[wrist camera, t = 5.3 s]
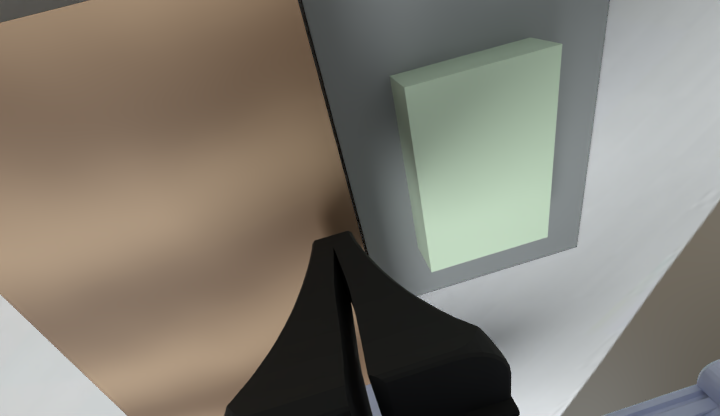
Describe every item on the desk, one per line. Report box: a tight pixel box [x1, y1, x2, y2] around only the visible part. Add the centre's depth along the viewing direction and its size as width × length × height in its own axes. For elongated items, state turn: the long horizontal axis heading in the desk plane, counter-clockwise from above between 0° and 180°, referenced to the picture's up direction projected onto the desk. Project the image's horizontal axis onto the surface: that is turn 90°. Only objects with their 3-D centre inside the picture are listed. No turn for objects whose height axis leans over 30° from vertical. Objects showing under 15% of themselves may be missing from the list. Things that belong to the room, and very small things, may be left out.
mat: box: [302, 0, 610, 296], centre depth 18 cm, size 16×12×1 cm
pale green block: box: [390, 37, 562, 272], centre depth 17 cm, size 9×6×2 cm, turn 12°
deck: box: [0, 0, 371, 416], centre depth 15 cm, size 18×12×4 cm, turn 12°
